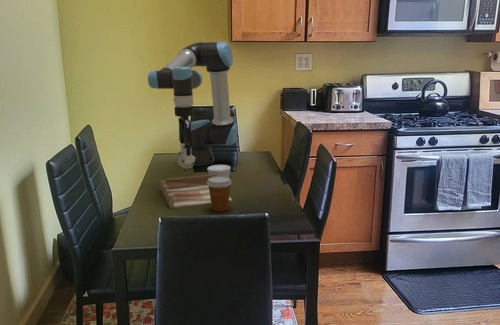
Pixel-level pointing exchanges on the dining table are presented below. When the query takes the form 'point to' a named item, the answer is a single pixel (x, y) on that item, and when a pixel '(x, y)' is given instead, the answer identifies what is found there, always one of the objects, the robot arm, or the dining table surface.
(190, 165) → the game die
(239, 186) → the dining table surface
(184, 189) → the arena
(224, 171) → the ramekin
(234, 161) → the dining table surface
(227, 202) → the disposable coffee cup
